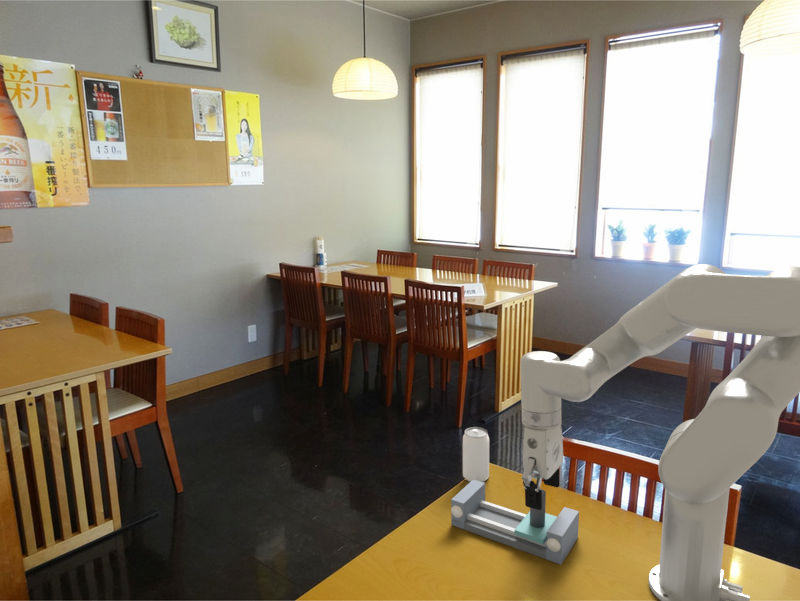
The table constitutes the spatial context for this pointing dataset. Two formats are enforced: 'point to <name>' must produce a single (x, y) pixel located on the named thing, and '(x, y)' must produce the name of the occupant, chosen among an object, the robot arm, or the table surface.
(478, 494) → the rail track
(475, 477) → the can
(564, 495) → the table surface
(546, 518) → the carriage
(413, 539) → the table surface
